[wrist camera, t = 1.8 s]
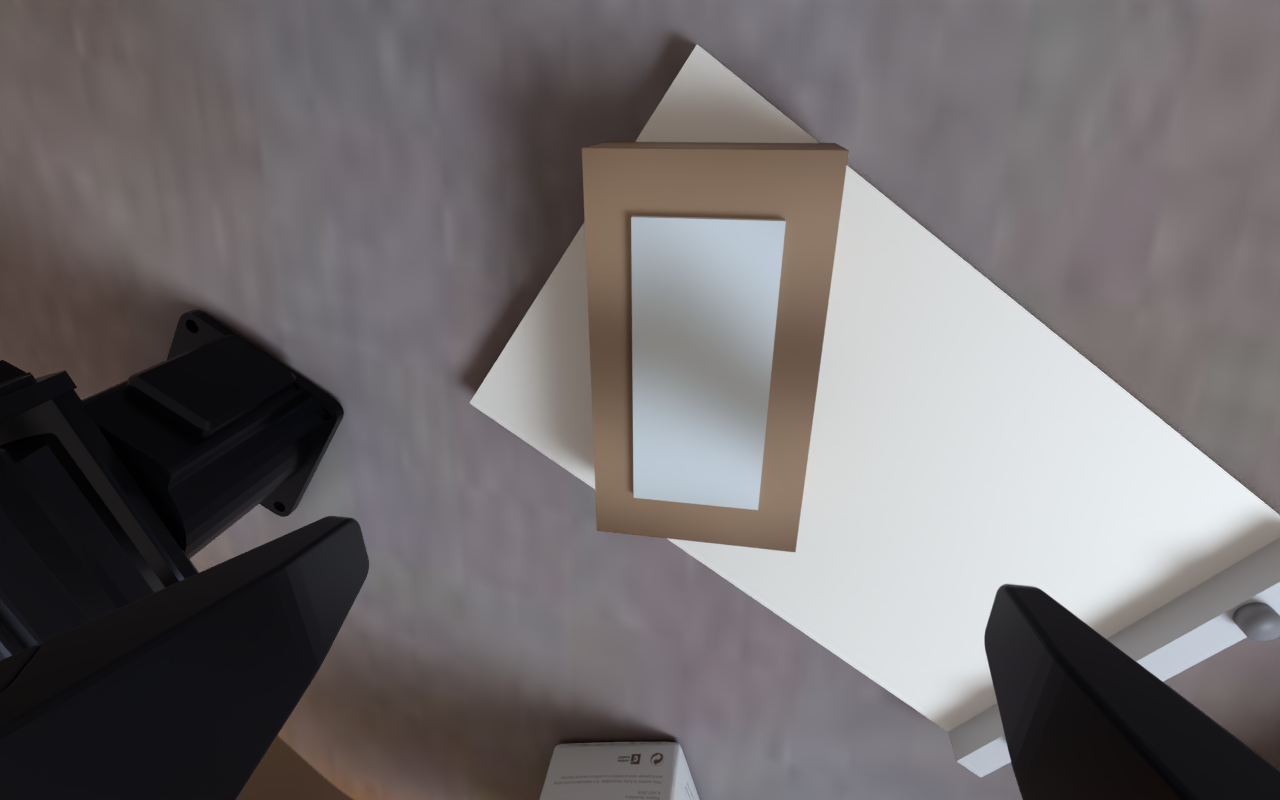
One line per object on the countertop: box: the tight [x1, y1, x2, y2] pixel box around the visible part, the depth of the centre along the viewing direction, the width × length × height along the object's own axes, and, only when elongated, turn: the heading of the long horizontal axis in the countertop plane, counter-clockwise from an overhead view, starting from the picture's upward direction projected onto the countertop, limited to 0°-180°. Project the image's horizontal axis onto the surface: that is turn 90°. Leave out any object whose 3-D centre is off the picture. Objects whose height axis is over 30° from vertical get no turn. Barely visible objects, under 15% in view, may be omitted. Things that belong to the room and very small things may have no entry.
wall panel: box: [470, 45, 1280, 777], centre depth 19 cm, size 13×24×2 cm, turn 55°
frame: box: [582, 142, 849, 552], centre depth 18 cm, size 11×6×3 cm, turn 0°
